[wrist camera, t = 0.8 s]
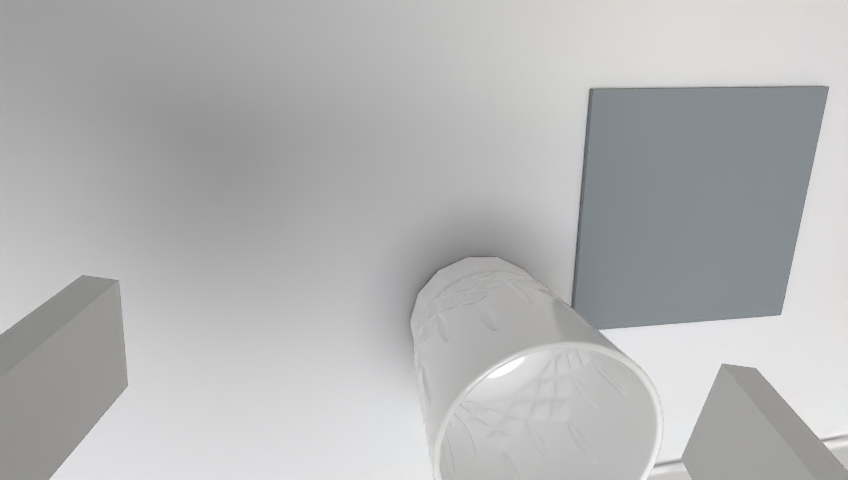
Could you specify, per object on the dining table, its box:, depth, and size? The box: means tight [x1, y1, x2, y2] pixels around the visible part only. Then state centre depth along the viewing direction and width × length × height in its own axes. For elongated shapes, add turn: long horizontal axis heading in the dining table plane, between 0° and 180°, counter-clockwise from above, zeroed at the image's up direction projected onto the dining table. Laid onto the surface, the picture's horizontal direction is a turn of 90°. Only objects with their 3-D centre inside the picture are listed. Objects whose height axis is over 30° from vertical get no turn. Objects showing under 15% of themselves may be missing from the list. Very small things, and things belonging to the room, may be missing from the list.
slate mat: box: [572, 87, 829, 330], centre depth 27 cm, size 12×12×1 cm
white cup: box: [410, 257, 664, 480], centre depth 22 cm, size 8×8×10 cm
